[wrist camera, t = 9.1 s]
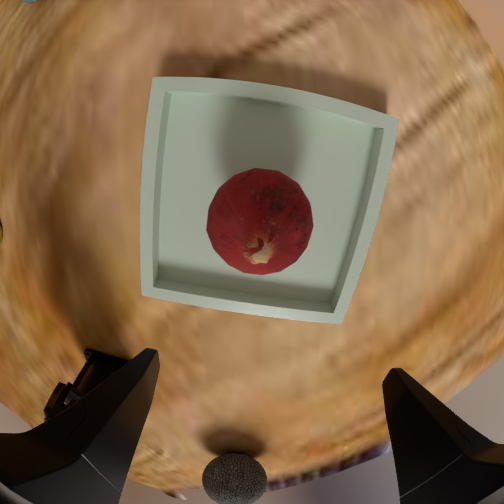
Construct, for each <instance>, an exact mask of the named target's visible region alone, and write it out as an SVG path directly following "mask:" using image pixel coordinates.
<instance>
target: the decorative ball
mask: <svg viewBox="0 0 504 504" xmlns="http://www.w3.org/2000/svg"><path fill="white" fill-rule="evenodd" d="M202 483H203V487H204V489H205V491H206V493H207V494H208V496H209V497H210V498H211V499H213V500H214V501H216V502H217V503H219V504H252V503H254V502H255V501H257V500H258V499H259V498H260V497H261V496H262V495H263V493H264V492H265V489H266V486H267V476H266V473H265V470H264V468H263V467H262V466H261V464H260V463H259V462H257V461H256V460H255V459H253V458H251V457H249V456H246V455H243V454H237V453H230V454H224V455H221V456H219V457H217V458H215V459H213V460H212V461H211V462H210V463H209V464H208V465H207V466H206V468H205V469H204V472H203V476H202Z"/></svg>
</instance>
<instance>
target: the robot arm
mask: <svg viewBox="0 0 504 504" xmlns="http://www.w3.org/2000/svg"><path fill="white" fill-rule="evenodd" d="M84 354H85V357H86V360H87V361H86V363H85V365H84V366H83V368H82V370H81V371H80V373H79V375H78V376H77V378H76V380H75V381H74V383H73V385H72V384H71V383H70V382H68V383H67V384H63V383H61V382H59V383H58V384H57V386H56V388H55V389H54V391H53V393H52V394H51V396H50V398H49V400H48V402H47V404H46V406H45V408H44V410H43V411H44V414H45V418H44V420H45V421H44V423H42V424H40V425H39V426H37V427H35V428H33V429H31V430H29V431H27V432H24V433H15V434H14V433H13V434H12V433H0V504H118V503H119V499H120V496H121V493H122V490H123V486H124V483H125V480H126V477H127V474H128V471H129V468H130V465H131V462H132V459H133V456H134V453H135V450H136V447H137V444H138V441H139V438H140V435H141V432H142V429H143V427H144V424H145V421H146V418H147V415H148V413H149V410H150V407H151V404H152V399H153V395H154V391H155V386H156V382H157V378H158V374H159V369H160V363H159V355H158V351H157V350H156V349H151V348H146V349H144V350H143V351H142V352H140V353H139V354H138V355H137V356H135V357H134V358H133V359H131V360H130V361H127V360H123V359H120V358H116V357H113V356H110V355H106V354H103V353H100V352H97V351H94V350H91V349H88V348H86V349H85V351H84ZM382 388H383V396H384V404H385V413H386V419H387V424H388V429H389V434H390V439H391V444H392V450H393V455H394V460H395V467H396V473H397V481H398V488H399V495H400V504H504V444H497V443H494V442H492V441H491V440H489V439H488V438H486V437H485V436H483V435H482V434H481V433H479V432H478V431H476V430H475V429H474V428H472V427H471V426H469V425H468V424H467V423H466V422H464V421H463V420H462V419H461V418H459V417H458V416H457V415H455V414H454V412H452V411H451V410H450V409H449V408H448V407H446V406H445V405H444V404H443V403H442V402H441V401H439V400H438V399H437V398H436V397H435V396H434V395H432V394H431V393H430V392H429V391H428V390H426V389H425V388H424V387H423V386H422V385H421V384H419V383H418V382H417V381H416V380H415V379H413V378H412V377H411V376H410V375H409V374H407V373H406V372H405V371H404V370H403V369H401V368H392V369H391V370H390V371H389V373H388V374H387V376H386V377H385V379H384V381H383V384H382ZM64 402H65V403H66V404H64Z"/></svg>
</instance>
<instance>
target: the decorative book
mask: <svg viewBox="0 0 504 504" xmlns="http://www.w3.org/2000/svg"><path fill="white" fill-rule="evenodd" d="M0 243H2V229H1V226H0Z"/></svg>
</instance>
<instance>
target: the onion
mask: <svg viewBox="0 0 504 504" xmlns="http://www.w3.org/2000/svg"><path fill="white" fill-rule="evenodd" d="M313 227H314V225H313V217H312V210H311V204H310V202H309V200H308V198H307V196H306V195H305V193H304V191H303V190H302V188H301V187H300V185H299V183H297V182H296V181H294V180H293V179H291V178H289V177H288V176H286V175H285V174H283V173H281V172H280V171H277V170H269V169H261V168H253V169H250V170H247V171H244V172H241V173H238V174H235V175H233V176H232V177H231V178H230V179H229V180H227V181H226V182H225V183H224V184H223V185H222V186H220V187H219V188H218V190H217V192H216V194H215V196H214V198H213V200H212V202H211V204H210V206H209V209H208V217H207V226H206V231H207V234H208V237H209V239H210V242H211V244H212V247H213V249H214V250H215V252H216V253H217V254H218V255H219V256H220V257H221V258H222V259H223V260H224V261H225V262H226V263H227V264H228V265H229V266H231V267H233V268H235V269H237V270H239V271H241V272H243V273H248V274H256V275H266V274H271V273H276V272H281V271H282V270H284V269H285V268H287V267H289V266H290V265H292V264H293V263H295V262H296V261H297V260H298V259H299V258H300V256H301V255H302V254H303V252H304V251H305V250H306V248H307V246H308V243H309V240H310V237H311V233H312V230H313Z"/></svg>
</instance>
